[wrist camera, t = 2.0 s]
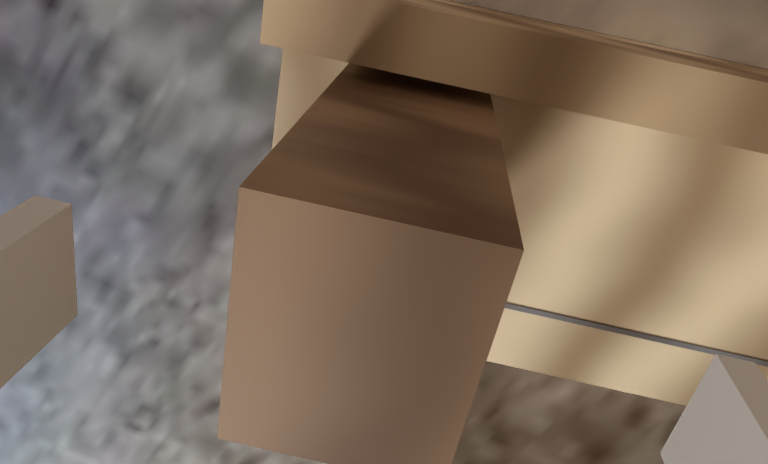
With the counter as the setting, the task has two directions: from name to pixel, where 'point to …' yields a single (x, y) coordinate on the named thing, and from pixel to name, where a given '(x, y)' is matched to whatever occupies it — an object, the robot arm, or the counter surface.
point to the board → (586, 179)
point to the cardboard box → (369, 274)
